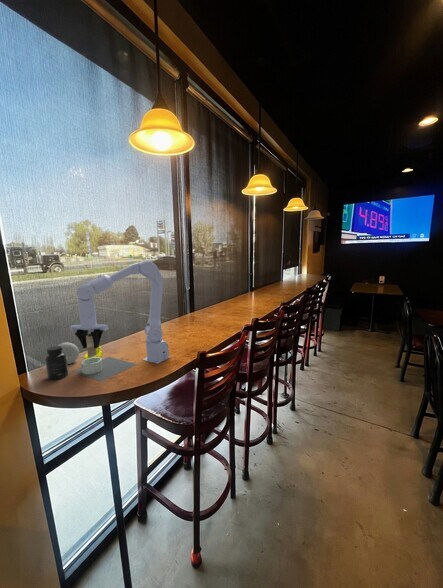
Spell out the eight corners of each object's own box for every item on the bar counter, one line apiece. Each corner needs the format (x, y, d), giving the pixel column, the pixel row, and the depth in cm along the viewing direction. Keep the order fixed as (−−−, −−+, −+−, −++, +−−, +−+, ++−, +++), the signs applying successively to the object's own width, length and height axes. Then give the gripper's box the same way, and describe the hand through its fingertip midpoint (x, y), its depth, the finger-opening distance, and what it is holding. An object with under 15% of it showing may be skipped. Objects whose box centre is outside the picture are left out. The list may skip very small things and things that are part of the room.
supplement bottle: (46, 377, 98) (42, 348, 96) (66, 371, 102) (62, 343, 101) (49, 383, 93) (45, 352, 91) (70, 376, 97) (67, 347, 96)
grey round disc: (53, 367, 107) (50, 345, 105) (56, 364, 110) (53, 342, 108) (79, 364, 109) (76, 342, 108) (81, 361, 113) (78, 340, 111)
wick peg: (96, 355, 101) (94, 334, 99) (88, 357, 99) (85, 335, 98) (96, 353, 103) (93, 332, 102) (87, 354, 102) (85, 333, 100)
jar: (107, 368, 103) (106, 359, 102) (89, 376, 97) (88, 366, 96) (95, 365, 107) (94, 355, 106) (78, 372, 100) (77, 362, 100)
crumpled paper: (81, 360, 114) (80, 344, 113) (98, 354, 121) (96, 339, 120) (89, 362, 111) (87, 346, 110) (105, 356, 118) (104, 340, 117)
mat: (137, 365, 106) (137, 364, 106) (100, 382, 92) (100, 381, 92) (109, 357, 116) (109, 356, 116) (72, 372, 102) (72, 371, 101)
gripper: (110, 312, 102) (113, 344, 104) (76, 312, 103) (80, 344, 105) (101, 316, 95) (104, 350, 97) (65, 316, 96) (69, 350, 98)
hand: (91, 347), depth 101 cm, fingers closed on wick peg, 4 cm apart
